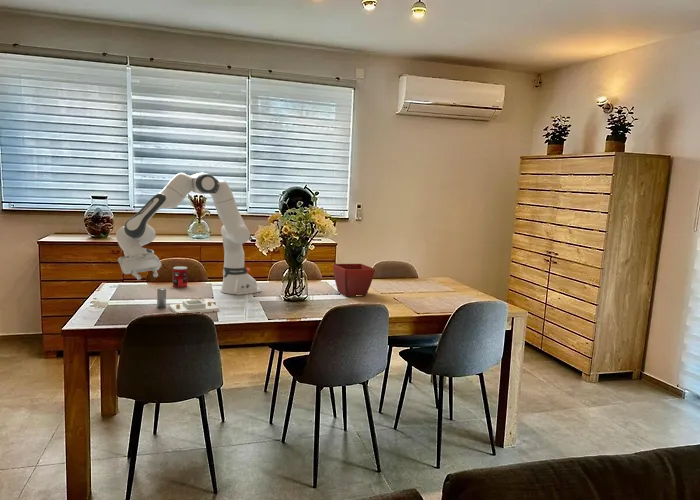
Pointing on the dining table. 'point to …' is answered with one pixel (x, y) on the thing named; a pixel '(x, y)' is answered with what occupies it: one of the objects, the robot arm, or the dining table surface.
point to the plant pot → (353, 278)
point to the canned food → (180, 276)
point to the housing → (194, 306)
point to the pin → (161, 298)
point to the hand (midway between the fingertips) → (148, 277)
